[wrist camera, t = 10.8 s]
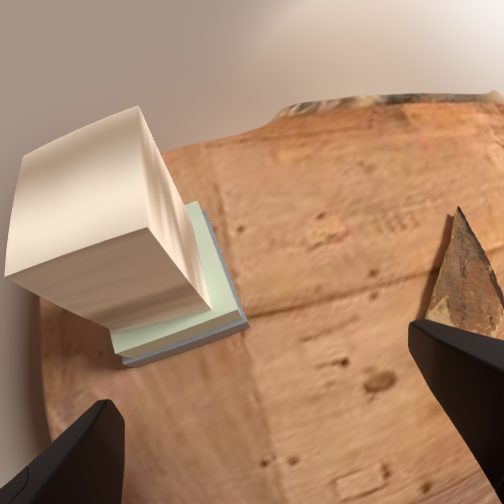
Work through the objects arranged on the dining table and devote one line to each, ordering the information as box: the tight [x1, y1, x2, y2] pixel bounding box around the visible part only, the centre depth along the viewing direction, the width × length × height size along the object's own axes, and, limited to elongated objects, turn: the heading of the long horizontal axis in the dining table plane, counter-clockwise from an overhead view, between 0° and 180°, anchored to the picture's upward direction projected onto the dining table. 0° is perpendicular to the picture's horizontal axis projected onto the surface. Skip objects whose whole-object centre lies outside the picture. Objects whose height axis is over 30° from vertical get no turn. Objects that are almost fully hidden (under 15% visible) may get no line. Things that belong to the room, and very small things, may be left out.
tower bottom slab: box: [121, 210, 250, 368], centre depth 23 cm, size 9×9×2 cm
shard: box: [425, 206, 504, 338], centre depth 21 cm, size 11×8×2 cm
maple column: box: [5, 106, 212, 333], centre depth 15 cm, size 6×6×10 cm
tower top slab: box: [109, 201, 243, 359], centre depth 21 cm, size 8×8×2 cm
